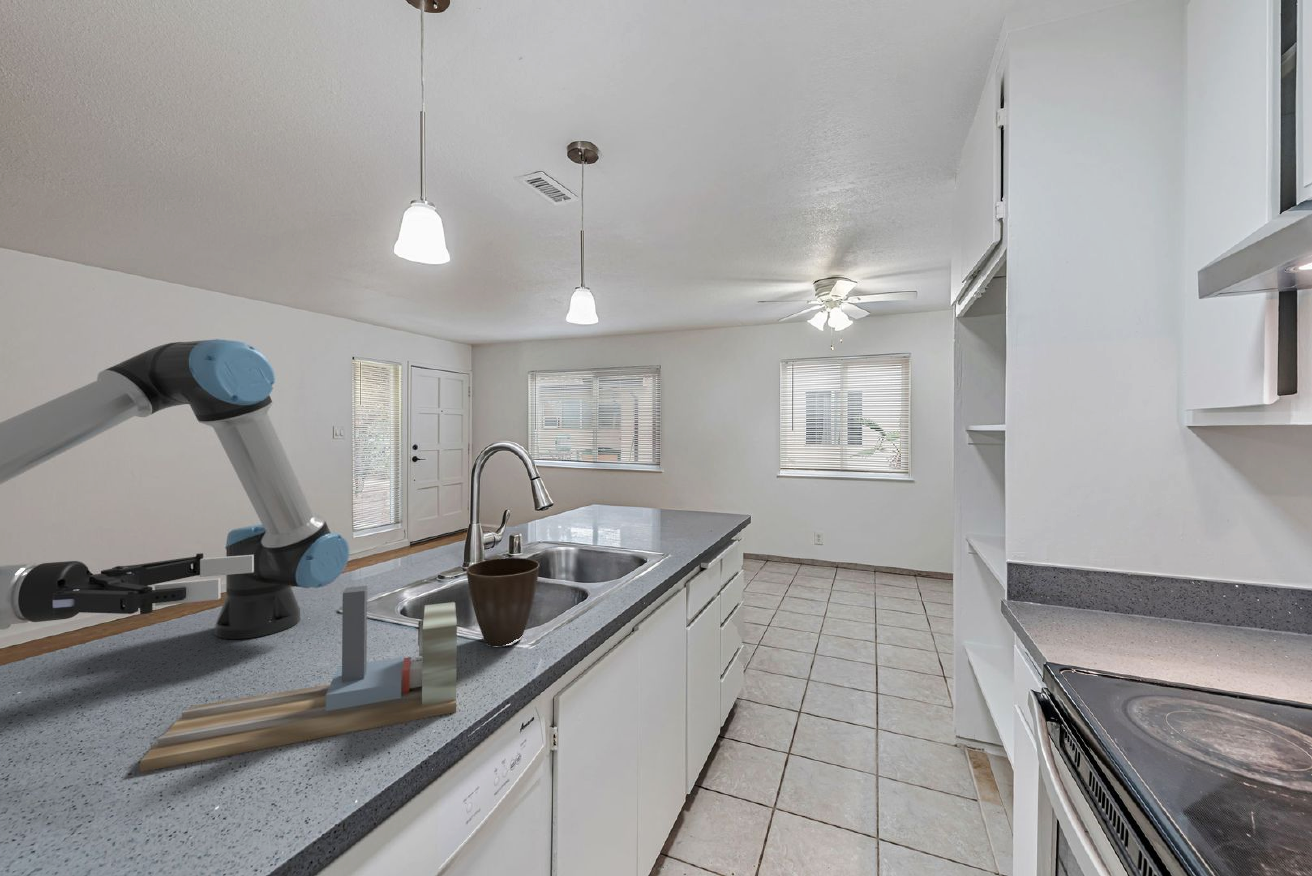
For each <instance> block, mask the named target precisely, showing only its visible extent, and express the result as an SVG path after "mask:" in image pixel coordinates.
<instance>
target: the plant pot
mask: <svg viewBox="0 0 1312 876" xmlns="http://www.w3.org/2000/svg"><path fill="white" fill-rule="evenodd" d="M539 571H540V563H539V562H538V561H537V560H533V559H529V558H524V557H523V558H521V557H505V558H503V557H502V558H493V559H487V560H481V561H478V562H476V563H473V564H471V565H469V566H468V567H467V568H466V571H465V572H466V577H467V583H468V590H469V595H470V598H471V604H472V607H473V611H474V614H475V618H476V621H477V624H478V626H479V630H480V633H481V634H482V637H483V639H484V642H485V644H486V645H487V644H488V645H487V646H489V645H490V646H489V647H492V646H503V645H506V644H509V643H511V642H513V641H514V640H516V639H519V638H520V637H521V636H522V635H524V633H525V630H526V626H527V624H528V621H529V618H530V616H531V611H532V607H533V604H534V600H535V595H536V591H537V585H538V579H539V578H538V577H539ZM522 637H523V636H522Z"/></svg>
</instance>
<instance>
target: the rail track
mask: <svg viewBox="0 0 1312 876" xmlns="http://www.w3.org/2000/svg"><path fill="white" fill-rule="evenodd" d="M423 611H424V613H423V619H421V620H418V625H417V627H418V629H417V630H418V633H417V634H418V637H417V643H418V644H417V646H418V656H419V657H422V658H421V661H422V686H421V687H415V688H410V689H409V693H404V694H401V698H399V699H393V700H387V701H382V702H376V703H370V704H364V705H359V706H353V707H347V708H341V709H335V710H330V711H326V694H327V691H328V689H329V687H330V684H325V685H319V686H312V687H307V688H299V689H292V690H287V691H280V692H273V693H267V694H262V695H256V696H248V697H241V698H236V699H230V700H224V701H222V700H221V701H217V702H211V703H210V702H209V703H204V704H198V705H197V704H196V705H191V706H189V707H187V708H185V709H184V710H183V711H182V712H181V716H180V717H179V718H178V719H177V720H176V721H175V722H174V723H173V724H172V725H171V727H170V728H169V729H167V731H166V732H165V733H164V734H160V736H159V737H158V738H157V742H156V743H155V745H153V746H152V747H151V749H150V750H149V751H148V752H147V753H146V754H144V756H143V757H142V758H141V760H139V761H140V762H139V763H140V765H139V767H140V768H139V769H140V771H139V772H140V773H144V772H149V771H153V770H154V771H155V770H160V769H165V768H170V767H174V766H180V765H185V764H191V763H195V762H202V761H207V760H211V759H217V758H221V757H227V756H233V755H237V754H243V753H249V752H255V751H259V750H265V749H270V748H274V747H279V746H284V745H290V744H296V743H301V742H306V741H311V740H317V739H321V738H326V737H333V736H337V735H343V734H348V733H354V732H358V731H362V730H363V731H364V730H368V729H374V728H378V727H379V728H380V727H385V726H389V725H390V726H391V725H396V724H400V723H405V722H411V721H415V720H421V719H426V718H431V717H437V716H442V715H446V714H447V715H448V714H452V713H457V658H458V657H457V656H458V655H457V651H458V650H457V649H458V648H457V646H458V645H457V644H458V639H457V638H458V634H457V633H458V621H457V611H456V602H454V601H451V602H443V603H434V604H425V605H424V610H423Z"/></svg>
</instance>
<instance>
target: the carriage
mask: <svg viewBox="0 0 1312 876" xmlns="http://www.w3.org/2000/svg"><path fill="white" fill-rule="evenodd" d="M341 622H342V627H341V628H342V630H341V631H342V632H341V633H342V634H341V636H342V637H341V665H340V666H338V667H337V668H336V671H335V674H334V675H333V678H332V680H331V683H330V684H329V685H330V687H329V689H328V691H327V694H326V711H330V710H335V709H341V708H347V707H353V706H359V705H364V704H370V703H376V702H382V701H387V700H393V699H399V698H401V694H402V669H403V663H404V658H406V656H401V657H394V658H386V659H380V660H379V659H378V660H373V661H367V656H368V655H367V653H368V647H367V644H368V641H367V639H368V637H367V636H368V585H361V586H360V585H359V586H347V587H345V588H344V590H343V592H342V620H341Z"/></svg>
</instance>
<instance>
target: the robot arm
mask: <svg viewBox="0 0 1312 876" xmlns="http://www.w3.org/2000/svg"><path fill="white" fill-rule="evenodd" d="M275 383H276V377H275V371H274V368H273V366H272V364H271V362H270V361H269V360H268V358H267V357H266V356H265V355H264V354H263V352H261V351H260V350H259V349H257V348H256V347H254V346H251V345H250V344H247V343H246V342H242V341H238V340H230V339H228V340H227V339H217V338H216V339H205V340H193V341H177V342H169V343H165V344H162V345H158V346H155V347H152V348H151V349H148V350H145V351H144V352H141V353H139V354H137V355H133V356H132V357H130V358H128V359H126V360H124V361H122V362H120V363H117V364H114V365H113V366H111V367H108V368H106V369H104V370H102V371H99V372H98V374H97V377H96V380H95V381H92V382H90V383H88V384H86V385H83V386H81V387H79V388H77V389H74V390H72V391H70V392H67V393H65V394H63V395H61V396H59V397H56V398H54V399H52V400H48V401H47V402H45V403H42V404H40V405H37V406H35V407H33V408H31V409H28V410H26V411H24V412H22V413H20V414H17V415H14V416H12V417H10V418H8V419H6V420H3V421H1V422H0V485H2V484H4V483H6V482H8V481H10V480H12V479H14V478H17V477H18V476H20V475H22V474H24V473H25V472H28V471H30V470H31V469H34V468H35V467H38V466H39V465H41V464H44V463H46V462H47V461H49V460H51V459H53V458H55V457H57V456H60V455H61V454H63V453H65V452H67V451H68V450H71V449H73V448H75V447H77V446H79V445H81V444H83V443H84V442H87V441H89V440H91V439H93V438H94V437H96V436H99V435H100V434H103V433H104V432H106V431H108V430H110V429H112V428H114V427H117V426H118V425H120V424H122V423H124V422H126V421H128V420H129V419H132V418H133V417H136V418H137V417H138V418H147V417H149V416H151V415H153V414H155V413H156V412H159V411H162V410H165V409H168V408H171V407H177V406H182V405H183V406H184V405H189V407H190V408H191V410H192V412H193V414H194V416H195V418H196V420H197V421H198V422H199V424H204V425H206V426H209V427H211V428H213V430H214V433H215V434H216V436H217V438H218V440H219V441H220V443H221V446H222V448H223V449H224V451H225V454H226V456H227V458H228V460H229V461H230V464H231V465H232V467H233V470H234V471H235V474H236V476H237V477H238V479H239V481H240V483H241V485H242V487H243V489H244V492H245V493H246V496H247V497H248V499H249V501H250V503H251V505H252V506H253V509H254V511H255V514H256V515H257V518H258V519H259V521H260V523H261V524H257V525H256V524H255V525H249V526H243V527H238V528H234V529H231V530H230V531H229V532H228V534H227V536H226V542H225V543H226V544H225V547H224V548H225V553H226V554H225V556H220V557H219V556H218V557H205V558H204V553H202V552H201V553H196V556H190V557H182V558H177V559H167V560H160V561H153V562H147V563H140V564H131V565H116V566H114V567H112V568H107V569H102V570H101V571H100V573H95V574H94V573H92V572H91V571H90V570H89V568H88V566H87V564H85V563H83V562H81V561H79V560H69V561H57V562H56V561H54V562H53V561H52V562H42V563H41V564H38V563H20V564H9V565H7V564H6V565H0V630H2V631H3V630H7V629H9V628H10V627H11V625H19V624H26V623H28V622H32V623H39V622H40V623H41V622H51V621H61V620H68V619H72V618H74V617H75V616H77V615H78V614H79V613H84V614H89V613H90V614H114V615H115V614H121V615H126V614H127V615H131V614H135V613H138V612H139V614H140V615H146V614H151V613H153V611H154V610H153V604H155V605H154V606H167V605H177V604H187V603H195V602H196V603H197V602H208V601H215V600H216V601H218V600H220V599H221V592H222V591H221V589H222V588H221V587H222V586H221V577H219V576H225V578H226V579H225V580H226V581H225V585H226V586H225V589H226V590H225V591H226V593H225V594H226V595H225V599H224V601H223V604H222V607H221V610H220V612H219V614H218V617H217V619H216V622H215V625H214V626H215V628H214V632H215V636H216V637H218V638H220V639H223V640H224V639H226V640H241V639H250V638H257V637H262V636H267V635H268V636H269V635H272V634H275V633H278V632H281V631H286V630H287V629H289V628H291V627H294V626H295V625H297V624H298V623H299V622H300V621H301V607H300V606H299V603H298V600H297V598H296V596H295V593H294V591H293V587H297V588H303V589H310V588H312V589H319V588H323V587H325V586H328V585H330V584H332V583H333V582H335V581H336V580H337V579H338V578H339V577H340V576H341V574H342V573H343V572H344V570H345V568H346V566H347V563H348V562H349V559H350V545H349V542H348V541H347V538H345V537H344V536H343V535H342V534H341V535H340V534H339V533H335V532H331V530H330V529H329V526H328V524H327V521H326V520H325V517H323V515H320V514H316V513H314V512H313V510H312V509H311V506H310V504H309V502H308V500H307V497H306V496H305V495H306V494H305V493H304V491H303V489H302V486H301V483H300V482H299V480H298V478H297V476H296V473H295V471H294V469H293V467H292V464H291V462H290V460H289V458H288V456H287V453H286V452H285V449H284V447H283V445H282V442H281V440H280V438H279V436H278V433H277V432H276V429H275V427H274V425H273V423H272V420H271V417H270V416H269V414H268V412H269V410H270V408H271V406H273V400H272V398H271V395H270V394H271V393H272V391H273V389H274V387H273V386H274V384H275ZM196 576H197V577H200V578H204V577H205V578H206V577H215V576H216V578H207V579H205V578H204V579H194V580H183V581H176V580H182V579H187V578H192V577H196ZM217 576H218V578H217ZM152 585H154V589H153V586H152Z"/></svg>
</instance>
